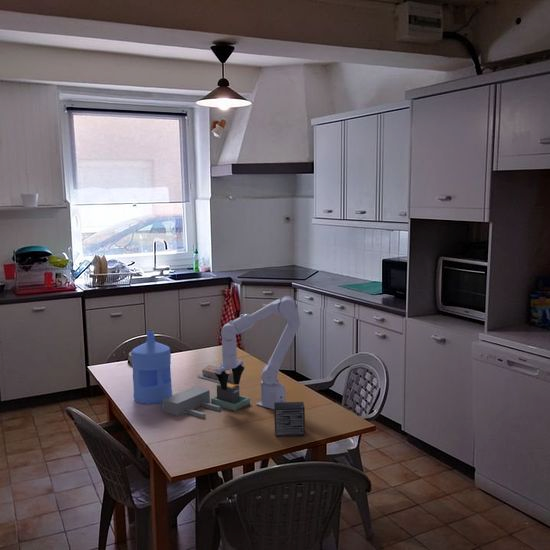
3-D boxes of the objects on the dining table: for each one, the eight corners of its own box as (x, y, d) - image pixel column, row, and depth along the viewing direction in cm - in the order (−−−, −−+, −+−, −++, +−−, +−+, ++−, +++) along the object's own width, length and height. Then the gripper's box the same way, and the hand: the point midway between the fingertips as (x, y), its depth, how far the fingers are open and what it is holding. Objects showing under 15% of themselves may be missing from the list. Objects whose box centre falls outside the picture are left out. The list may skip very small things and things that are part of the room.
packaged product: (240, 369, 261) (225, 375, 253) (240, 380, 261) (225, 386, 254) (212, 362, 272) (196, 367, 264) (212, 372, 273) (197, 378, 265)
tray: (250, 404, 231) (249, 398, 231) (235, 411, 224) (235, 404, 223) (226, 397, 238) (226, 391, 238) (211, 404, 231) (211, 398, 231)
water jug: (127, 397, 240) (123, 331, 236) (160, 388, 250) (158, 325, 246) (144, 407, 228) (141, 339, 224) (179, 398, 238) (177, 332, 234)
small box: (303, 428, 207) (303, 400, 205) (305, 436, 200) (305, 407, 199) (274, 429, 206) (274, 401, 205) (275, 437, 200) (274, 408, 198)
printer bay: (227, 406, 228) (227, 394, 227) (195, 421, 214) (195, 408, 213) (195, 397, 238) (195, 386, 237) (163, 411, 224) (162, 399, 223)
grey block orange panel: (240, 403, 231) (240, 385, 230) (233, 406, 227) (232, 388, 226) (224, 398, 236) (224, 381, 235) (217, 401, 232) (216, 384, 231)
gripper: (233, 348, 236) (234, 380, 238) (209, 356, 224) (210, 390, 226) (247, 350, 232) (247, 383, 234) (223, 359, 220) (224, 393, 222)
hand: (230, 386), depth 230 cm, fingers open, 7 cm apart
